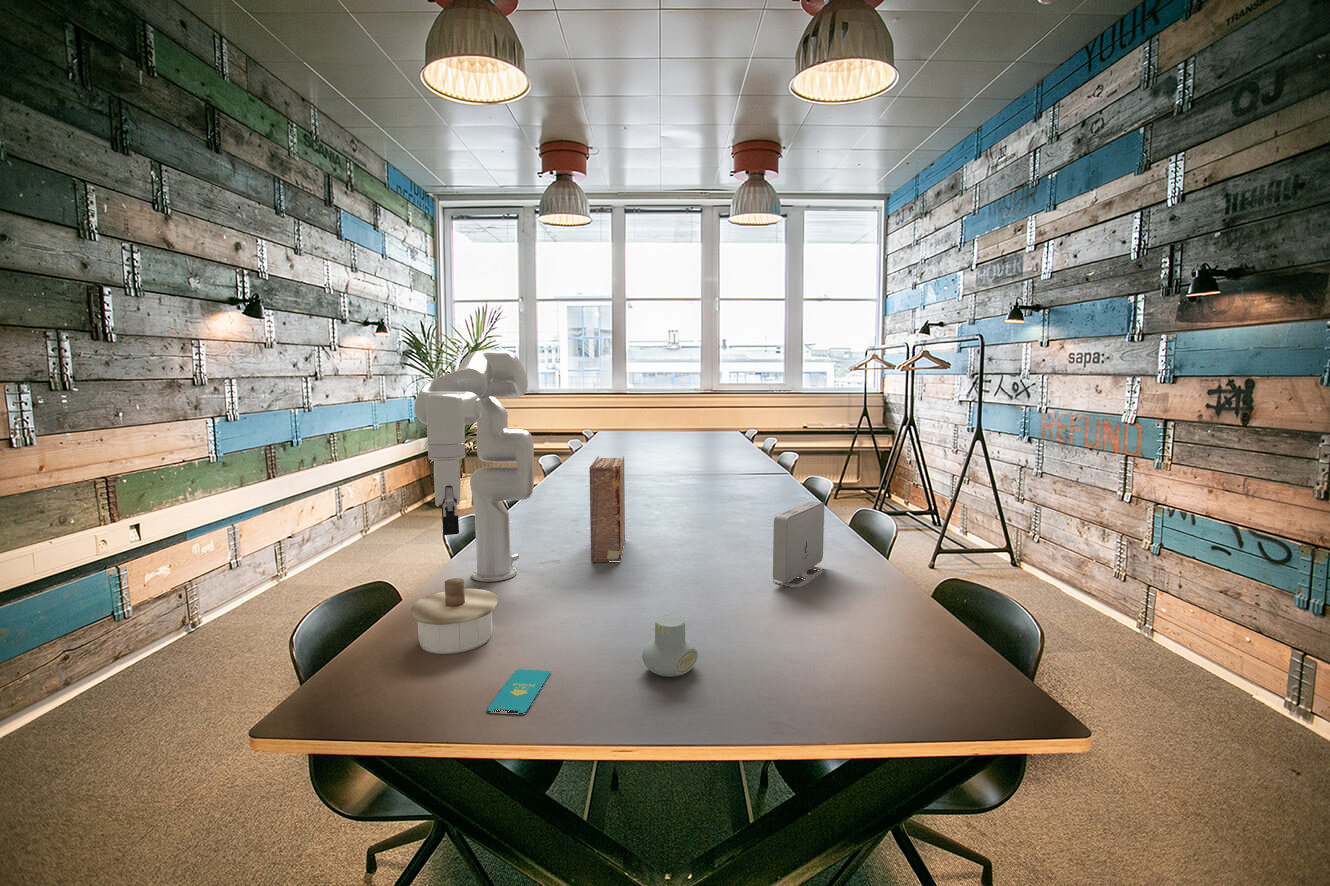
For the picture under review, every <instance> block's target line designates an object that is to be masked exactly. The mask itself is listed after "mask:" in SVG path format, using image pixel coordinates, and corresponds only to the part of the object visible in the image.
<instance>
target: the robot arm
mask: <svg viewBox="0 0 1330 886" xmlns="http://www.w3.org/2000/svg"><path fill="white" fill-rule="evenodd" d="M528 385H529V381H528V376H527V372H526V369H525V368H524V366H523V363H522V362H521V359H519V357H518V356H517V355H516V354H515V353H514V352H512V351H509V350H475V351H472V352H470V353H468V354H467V355H466V356H465V357H464V359H462V362H460V365H459V366H458V368H457V369H456V370H454V371H451V372H449V373H446V374H443V375H441V376H438V377H436V378H433V379H431V380H429V381H428V382H426V383H425V384H424V385H423V386H422V387H421V388H420V390H419V392H418V394H417V396H416V399H415V400H414V405H413V406H414V414H415V417H416V419H417V420H418V421H419V422H420V423H422V424H423V425H426V437H427V455H428V457H427V458H428V460H431V461H433V484H434V486H433V487H434V499H435V500H434V501H435V506H437V507H439V506H441V519H442V520H441V521H442V523H441V524H442V535H443V536H450V535H451V536H452V535H459V533H460V522H459V521H460V520H459V519H460V518H459V515H458V507H457V506H458V505H459V504H460V501H461V500H460V498H461V461H460V460H462V459H465V458H466V441H465V440H466V439H465V437H466V436H465V425H472V424H474V423H476V454H477V458H478V460H479V461H482V462H485V463H515V464H516V466H486V467H481V468H477V469H475V470H474V471H473V472H472V474H471V476H470V479H469V480H470V481H469V486H470V491H471V495H472V502H473V508H474V520H475V521H474V526H475V551H476V569H474V570H473V571H472V572H471V578H472V579H473V580H475V581H477V582H484V583H487V582H488V583H489V582H491V583H493V582H501V581H505V580H508V579H510V578H511V579H512V578H513V577H515V576H516V575H517V571H518V570H517V568H516V567H515V566H514V565H513V563H514V562H515V561H518V560H519V558H520V557H519V554H518V553H513V554H512V551H511V526H510V525H511V524H510V523H511V522H510V519H511V518H510V514H509V510H508V509H507V507H505V505H504V504H503V501H525V500H528V499H530V498H531V497H532V496H533V493H534V487H535V486H534V483H535V482H534V481H535V479H534V478H535V476H534V475H535V472H534V471H535V458H534V457H535V448H534V439H533V436H532V434H531V432H529V430H526V429H514V428H513V429H508V428H509V427H508V423H509V422H508V419H509V415H508V412H507V410H506V407H504V405H503V404H502V403H501V402H500V401H499V399H497V398H518V397H522V396H524V395H525V394H526V392H527V390H528Z"/></svg>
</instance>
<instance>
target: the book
mask: <svg viewBox="0 0 1330 886" xmlns="http://www.w3.org/2000/svg"><path fill="white" fill-rule="evenodd" d="M625 486H626V485H625V456H624V455H623V456H622V457H600V456H598V455H597V457H596V458H595V460H593V462H592V463H591V465H590V466H589V510H590V511H589V513H590V514H589V516H590V517H589V522H590V523H589V524H590V563H591V562H609V561H621V562H622V558H621V556H622V557H623V553H622V551H624V548H623V546H624V547H625V544H624V541H625V542H626V513H625V512H626V508H625V507H626V504H625V501H626V499H625V498H626V497H625V495H626V494H625Z"/></svg>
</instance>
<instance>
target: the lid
mask: <svg viewBox="0 0 1330 886" xmlns="http://www.w3.org/2000/svg"><path fill="white" fill-rule="evenodd" d="M498 605H499V598H498V596H497V594H495V593H494V592H492V591H489V590H485V589H481V588H479V589H478V588H465V579H463V578H461V577H455V578H454V577H453V578H450V579H446V580H445V581H444V591H439V592H436V593H432V594H429V595H426V596H423V597H422V598H420V599H418V600H417V601H415V602H414V603H413V604H412V605H411V607H410V616H411V618H412V620H414V621H416V622H417V623H418V622H421V623H425V624H433V625H447V624H457V623H463V622H467V621H472V620H475V619H478V618H481V617H483V616H485V615H487V614H489V613H491V612H492V613H493V612H494V611H495V610H496V609H497V608H498V607H499V606H498Z"/></svg>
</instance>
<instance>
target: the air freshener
mask: <svg viewBox="0 0 1330 886" xmlns="http://www.w3.org/2000/svg"><path fill="white" fill-rule="evenodd" d="M698 657H699V653H698V649H697V647H696V646H695V644H694V643H692V642H691V641H690V640H689V639H687V638H686V622H685V620H684V619H683V618H681V617H680V616H676V615H666V616H665V615H663V616H661V617H659V618H657V619H656V620H655V622H654V638H653V639H651V640H650V641H649V642H648V643H646V645H645V647H644V648H643V649H642V654H641V659H642V662H643V665H644V666H645V667H646V668H647V670H649V671H650V672H652V673H653V674H656V675H658V676H661V677H667V678H670V677H671V678H672V677H673V678H674V677H680V675H681V676H682V675H685V674H686V673H687V674H688V672H690V671H691V670H692V669H693V667H695V665H696V663H697V661H698Z"/></svg>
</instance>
